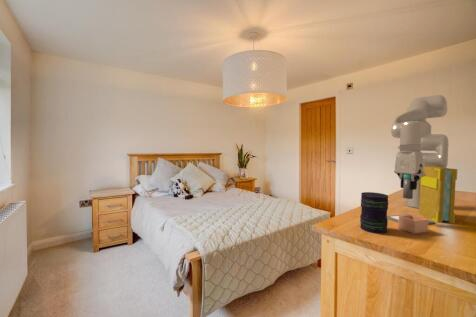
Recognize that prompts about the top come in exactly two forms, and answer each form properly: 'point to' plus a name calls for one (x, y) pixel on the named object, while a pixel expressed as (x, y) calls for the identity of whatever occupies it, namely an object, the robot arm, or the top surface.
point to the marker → (407, 187)
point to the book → (438, 194)
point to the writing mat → (396, 217)
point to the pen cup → (413, 224)
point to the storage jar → (374, 212)
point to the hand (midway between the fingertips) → (408, 188)
